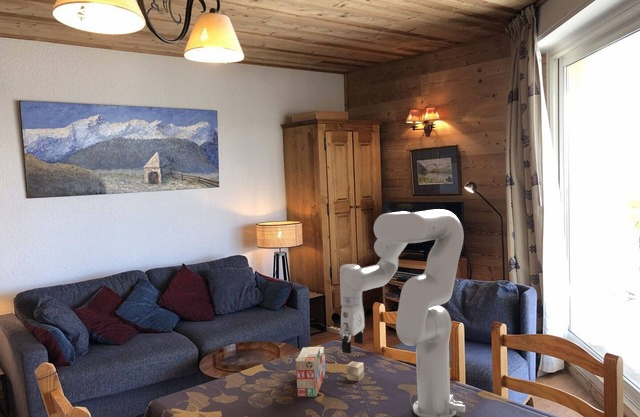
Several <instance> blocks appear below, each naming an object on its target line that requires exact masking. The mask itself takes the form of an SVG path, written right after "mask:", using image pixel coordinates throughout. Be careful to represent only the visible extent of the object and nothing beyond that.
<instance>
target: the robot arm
mask: <svg viewBox="0 0 640 417" xmlns="http://www.w3.org/2000/svg"><path fill="white" fill-rule="evenodd" d="M373 233H374V236H375V237H376V240H375V242H374V244H373V249H374V252H375V253H376V255H377V256H378V257H379V258H380V259H379V261H378V262H377V263H376V264H373V265H369V266H364V267H361V266H360V265H358V264H356V263H347V264H343V265H341V266H340V268H339V284H340V285H339V290H340V305H341V310H340V311H341V312H340V330H339V336H340V341H341V351H342V353H343V354H344V353H345V354H351V353H352V341H351V339H352V338H351V337H352V336H353V337H354V338H353V340H354V344H359V345H363V344H364V333H363V332H364V329H365V311H364V306H363V304H364V303H363V292H365V291H368V290H369V291H370V290H372V289H376V288H381V287H383V286H385V285H387V284H388V283H389V282H390V280H392V278H393V277H394V275H395V274H396V273H397V271H398V268H399V256H400V255H401V253H402V252H403V251H404V250H405V248H406V247H407V245H408V244H417V243H418V244H419V243H423V242H428V241H434V240H435V241H434V244H433V246H432V247H431V248H430V251H429V253H428V256H427V258H426V264H425V269H424V271H423V273H422V274H418V275H416V276H412V277H411V278H409V279H408V280H406V282H405V283H404V284H403V286H402V288H401V292H400V295H399V301H398V309H397V313H396V314H397V315H396V320H395V330H396V335H397V337H398V339H399V340H400V341H401V343H402V344H403V345H406V346H409V347H415V346H416V349H415V356H416V357H415V359H416V360H415V361H416V386H417V400H416V401H415V402H414V403H413V404H412V411H413V413H414V414H415V415H417V417H454V416H455V415H456V414H457V412H460V413H461V412H462V413H465V412H466V405H464V401H460V400H456V399H454V394H451V378H450V377H451V376H450V374H451V372H450V338H451V337H450V336H451V332H452V318H451V315H450V313H449V311H448V310H447V309H446V308H445V307H443V306H441V305H444V304H446V303H448V302H449V301H450V300H451V298H452V295H453V292H454V287H455V282H456V276H457V271H458V265H459V260H460V256H461V252H462V249H463V245H464V238H465V237H464V236H465V235H464V228H463V225H462V223H461V221H460V219H459V218H458V217H457V215H456V214H454V213H453V212H452V211H450V210H447V209H440V208H438V209H437V208H436V209H426V210H421V211H415V212H414V211H412V212H410V211H404V210H401V211H395V212H386V213H382V214H380V215H379V216H378V217H377V218H376V219H375V221H374V224H373Z"/></svg>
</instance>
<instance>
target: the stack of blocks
mask: <svg viewBox="0 0 640 417" xmlns="http://www.w3.org/2000/svg"><path fill="white" fill-rule="evenodd" d="M295 369H296V370H295V372H296V373H295V374H296V391H297V397H303V398H304V397H305V398H306V397H310V398H314V397H315V398H316V397H317V395H318V393H319V391H320V388H321V385H322V382H323V379H324V377H325V374H326V370H327V368H326V355H325V347H324V346H307V347H302V348H301V350H300V353H299V354H298V356H297V357H296V359H295Z"/></svg>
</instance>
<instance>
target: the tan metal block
mask: <svg viewBox="0 0 640 417" xmlns="http://www.w3.org/2000/svg"><path fill="white" fill-rule="evenodd" d="M364 377H365V368H364V362H360V361H353V360H351V362H349V363H348V364H347V365H346V380H347V379H348V381H355V382H360V381H361V380H362V379H363V378H364Z"/></svg>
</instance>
